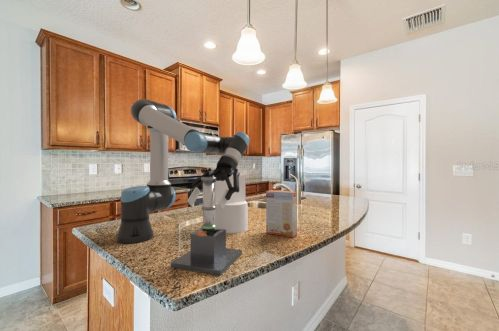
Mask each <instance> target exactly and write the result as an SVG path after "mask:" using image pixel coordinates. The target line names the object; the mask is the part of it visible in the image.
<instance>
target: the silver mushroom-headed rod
mask: <svg viewBox="0 0 499 331" xmlns="http://www.w3.org/2000/svg"><path fill="white" fill-rule="evenodd" d="M200 177H201V176H200ZM201 181H203V189H202V206H201V211H202V224H201V229H202V230H203V231H207V234H208V235H213V234H215V229H216V224H215V209H216V206H215V182H214V181H216V177H214V176H212V177H201Z"/></svg>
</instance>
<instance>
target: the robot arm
mask: <svg viewBox="0 0 499 331" xmlns="http://www.w3.org/2000/svg"><path fill="white" fill-rule="evenodd" d="M130 114H131V117H132V118H133V119H134V120H135V121H136V122H137V123H139V124H141V125H143V126H145V127H146V126H147V128H146V129H147V131H148V132H149V133H150V138H149V139H150V141H149V142H150V146H149V148H150V150H149V154H150V160H149V162H150V163H149V181H148V182H147V183H146V185H138V186H131V187H127V188H124V189H123V190H122V191H121V193H120V195H121V196H120V199H119V200H120V225H119V228H118V232H117V234H116V242H117V243H120V244H135V243H141V242H145V241H149V240H151V239H152V238H153V237H154V230H153V228H152V224H151V222H150V213H152V212H156V211H163V210H166V209H170V207H172V205H174V204H175V201H176V191H175V189H174V187H172V183H171V182H170V181H169V137H170V138H171V139H173V140H175V141H177V142H179V143H180V144H182V145H184V146H185V148H186V149H187V151H189V152H194V153H205V154H206V153H207V154H214V155H216V154H217V155H221V156H220V158H219V159H218V161H217V163H216V167H215V168H214V169H211V168H208V169H207V170H206V172H204V173H203V174H202V175H201V176H200V177H198V178H197V179H196V180H195V181H194V182H192V183H191V186H192V188H193V189H192V191H191V192H190V195H189V197H188V199H187V200H186V202H187V203H188V204H189V206H190V207H192V206H194V204H195V202H196V201H197V199H198V197H199V196H200V194H201V193H202V192H201V191H202V190H203V181H201V177H216V181H224V180H225V181H226V183H227V186H228V189H229V190H228V189H226V190H225V192H224V194H223V195H222V197H221V199H220V201H219V203H218V205H219V207H220V208H221V209H224V207H225V205H226V203H227V201H228V200H230V198H231V196H232V194H233V193H234V192H239V175H241V174H240V171H239V169H238V166H239V164H240V162H241V159H242V158H243V156H244V154H245V152H246V151H247V150H248V147H249V144H250V142H251V141H250V137H249V136H248V134H246V133H245V132H243V131H238V132H237V131H236V133H235V134H234V135H232V136H218V135H212V134H207V133H204V132H201V131H199V130H197V129H195V128H193V127H191V126H189V125H187V124H185V123H183V122H181V121H179V120H177V119H178V117H177V114H176V111H175V110H174V108H172V107H171V106H170V105H169V106H168V105H167V104H165V103H160V102H157V101H154V100H150V99H145V98H142V99H138V100H135V101H134V102H133V103H132V105H131V106H130ZM232 175H233V185H234V187H232V184H231V182H230V179H229V177H230V176H232ZM216 181H214V183H215V182H216Z"/></svg>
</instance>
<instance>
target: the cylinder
mask: <svg viewBox="0 0 499 331" xmlns="http://www.w3.org/2000/svg"><path fill="white" fill-rule="evenodd" d="M229 179H230V182H231V184H232V187H234V185H233V175H232V176H230V177H229ZM246 181H247V180H246V174H240V175H239V192H234V193H233V194H232V196H231V198H230V200H228V201H227V203H226V205H225V207H224V209H221V208H220V207H219V205H218V203H219V201H220V199H221V197H222V195H223V194H224V192H225V190H226V189H228V186H227V183H226V181H225V180H224V181H216V182H214V205H215V206H216V209H215V210H214V224H216V229H225V230H226V234H229V235H230V234H239V233H244V232H246V231H247V230H248V226H249V225H248V221H249V220H248V212H249V211H248V209H249V208H248V207H249V206H248V201H246V200H247V199H246V198H247V197H246V194H247V193H246V189H247V188H246ZM228 190H229V189H228Z"/></svg>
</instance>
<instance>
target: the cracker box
mask: <svg viewBox="0 0 499 331" xmlns="http://www.w3.org/2000/svg"><path fill="white" fill-rule="evenodd" d="M265 193H266V195H265V200H266V202H265V203H266V204H265V207H266V208H265V210H266V211H265V213H266V214H265V215H266V216H265V217H266V218H265V223H266V224H265V226H266V228H265V230H266V232H265V233H266V234H269V235H276V236H282V237H287V238H294V237H295V236H297V235H298V195H297V194H298V191H294V190H293V191H291V190H278V189H276V190H275V189H274V190H272V189H271V190H266V191H265Z"/></svg>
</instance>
